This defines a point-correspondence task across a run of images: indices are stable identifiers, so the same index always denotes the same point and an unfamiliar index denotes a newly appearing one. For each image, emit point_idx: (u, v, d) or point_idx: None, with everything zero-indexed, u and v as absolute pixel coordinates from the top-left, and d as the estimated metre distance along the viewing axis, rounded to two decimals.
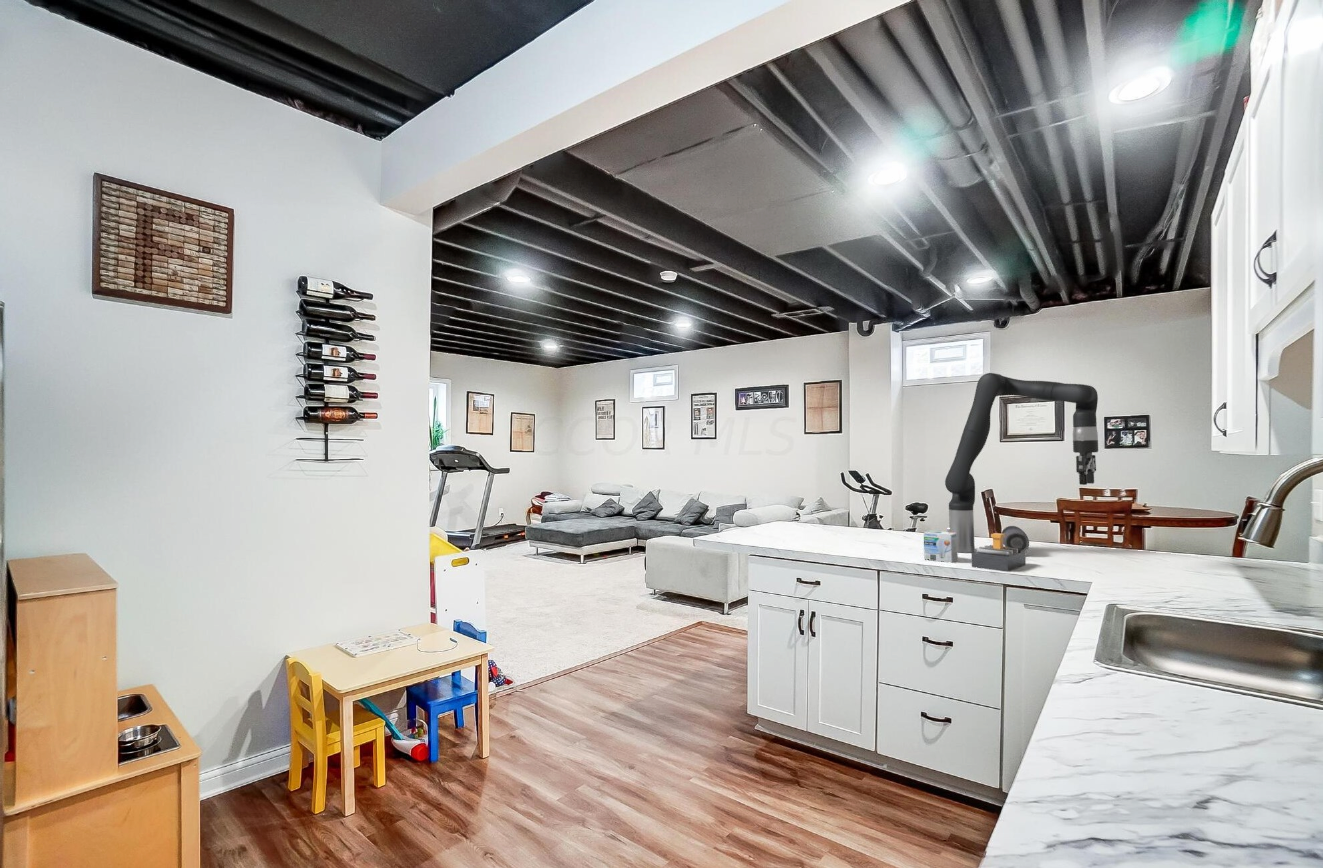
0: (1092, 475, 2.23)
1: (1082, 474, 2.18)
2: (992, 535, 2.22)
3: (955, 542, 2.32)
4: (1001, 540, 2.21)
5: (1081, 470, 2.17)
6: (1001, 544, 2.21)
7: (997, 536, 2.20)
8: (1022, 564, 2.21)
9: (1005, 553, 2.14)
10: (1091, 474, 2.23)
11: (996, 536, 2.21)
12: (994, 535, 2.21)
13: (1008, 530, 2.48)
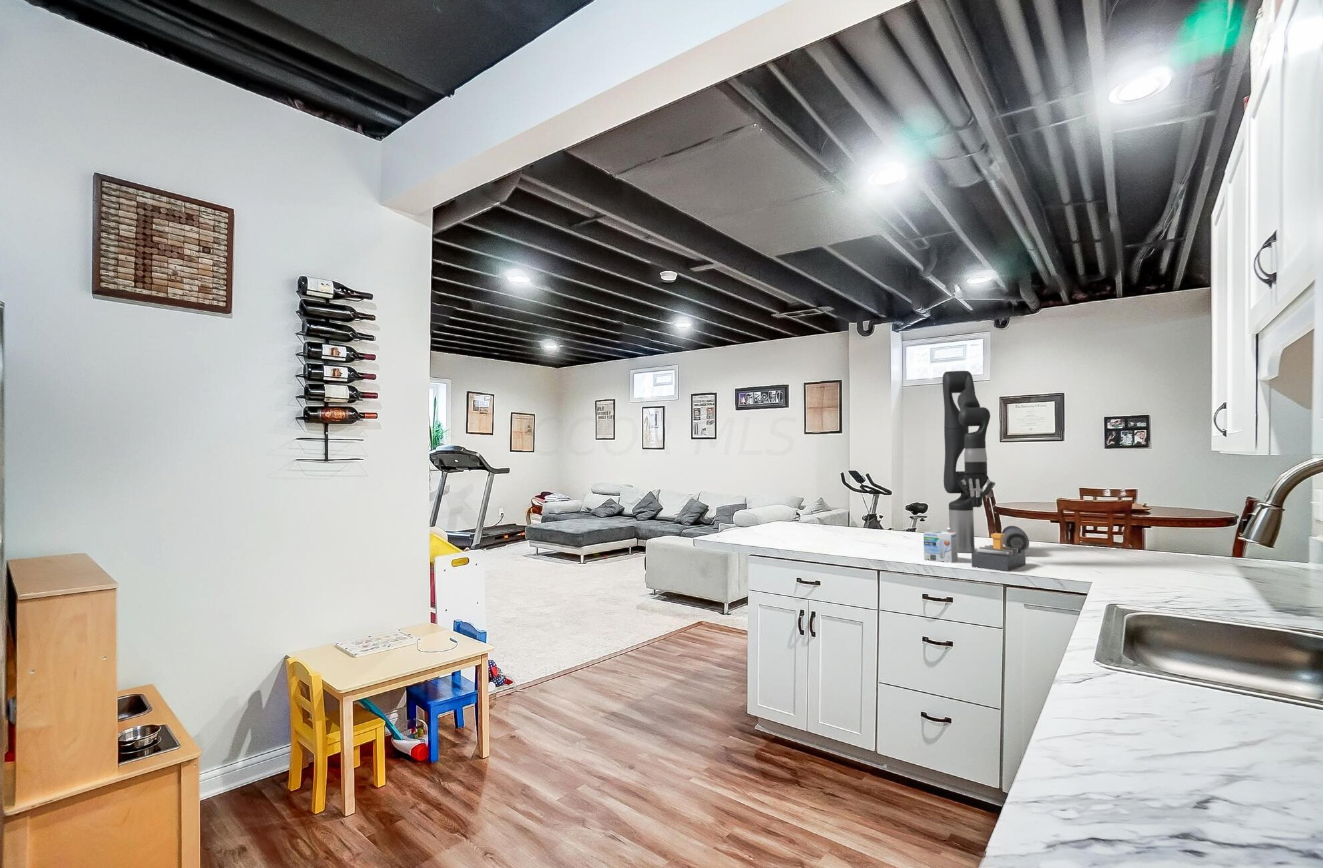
0: None
1: (981, 497, 2.27)
2: (992, 535, 2.22)
3: (955, 542, 2.32)
4: (1001, 540, 2.21)
5: None
6: (1001, 544, 2.21)
7: (997, 536, 2.20)
8: (1022, 564, 2.21)
9: (1005, 553, 2.14)
10: None
11: (996, 536, 2.21)
12: (994, 535, 2.21)
13: (1008, 530, 2.48)
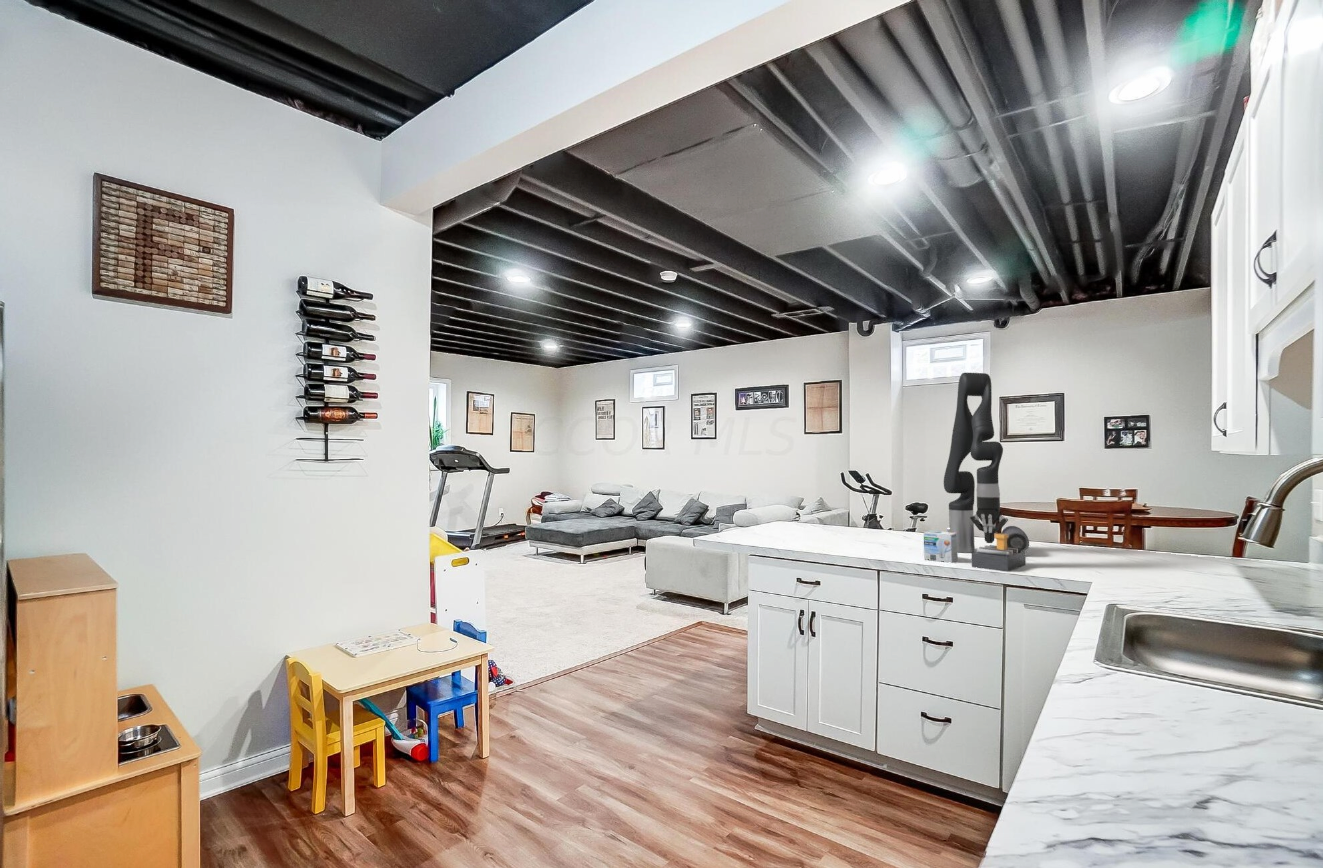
0: None
1: (993, 533, 2.23)
2: (996, 535, 2.21)
3: (955, 542, 2.32)
4: (1004, 541, 2.20)
5: None
6: (1005, 544, 2.20)
7: (1001, 536, 2.19)
8: (1022, 564, 2.21)
9: (1005, 553, 2.14)
10: None
11: (1000, 536, 2.20)
12: (998, 535, 2.20)
13: (1008, 530, 2.48)
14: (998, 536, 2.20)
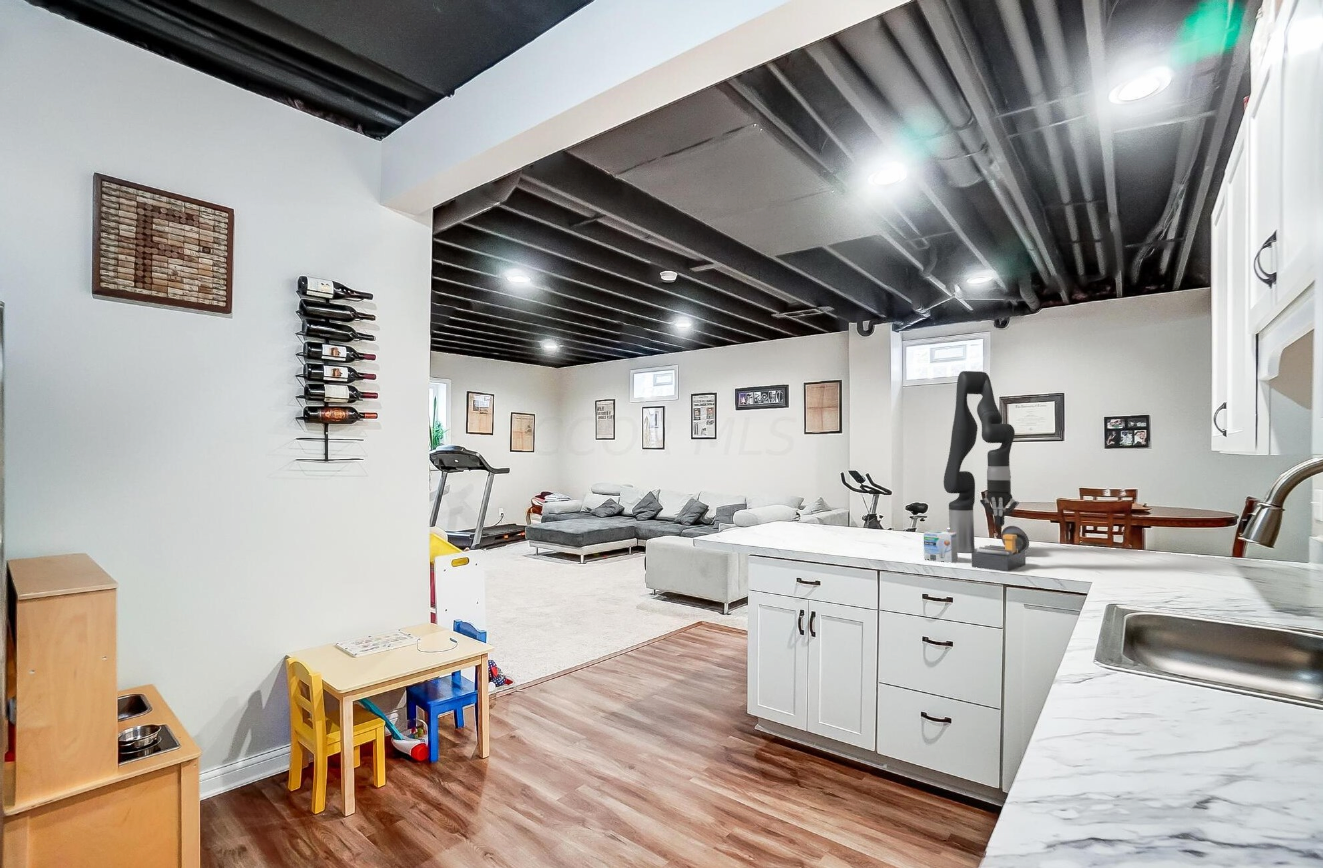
0: None
1: None
2: (1004, 536, 2.19)
3: (955, 542, 2.32)
4: (1013, 541, 2.18)
5: (1008, 512, 2.19)
6: (1013, 545, 2.18)
7: (1009, 537, 2.17)
8: (1022, 564, 2.21)
9: (1005, 553, 2.14)
10: None
11: (1008, 537, 2.18)
12: (1006, 536, 2.18)
13: (1008, 530, 2.48)
14: (1006, 537, 2.18)
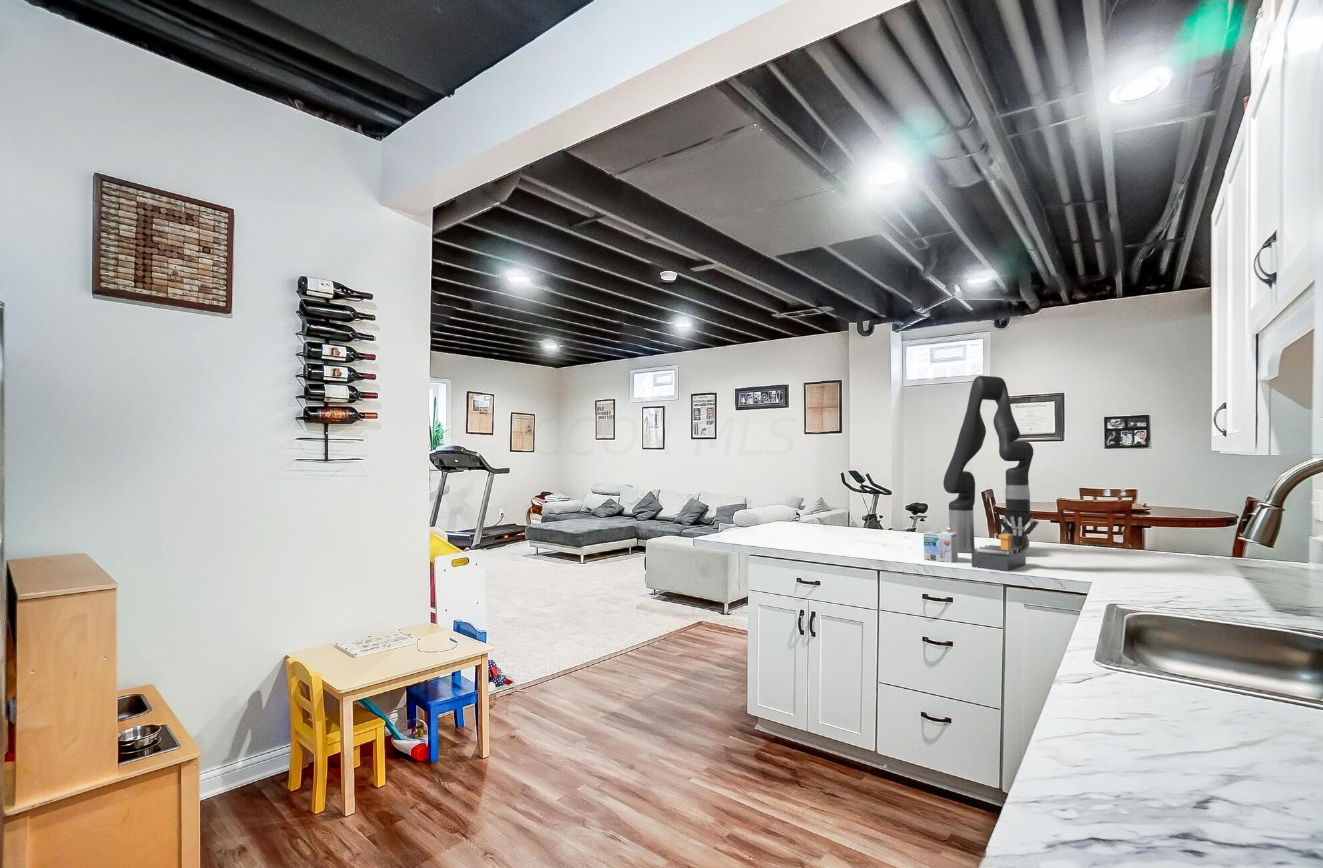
0: None
1: (1023, 536, 2.16)
2: (1000, 536, 2.20)
3: (955, 542, 2.32)
4: (1009, 541, 2.19)
5: None
6: (1009, 545, 2.19)
7: (1005, 537, 2.18)
8: (1022, 564, 2.21)
9: (1005, 553, 2.14)
10: None
11: (1004, 537, 2.19)
12: (1002, 536, 2.19)
13: None
14: (1002, 536, 2.19)
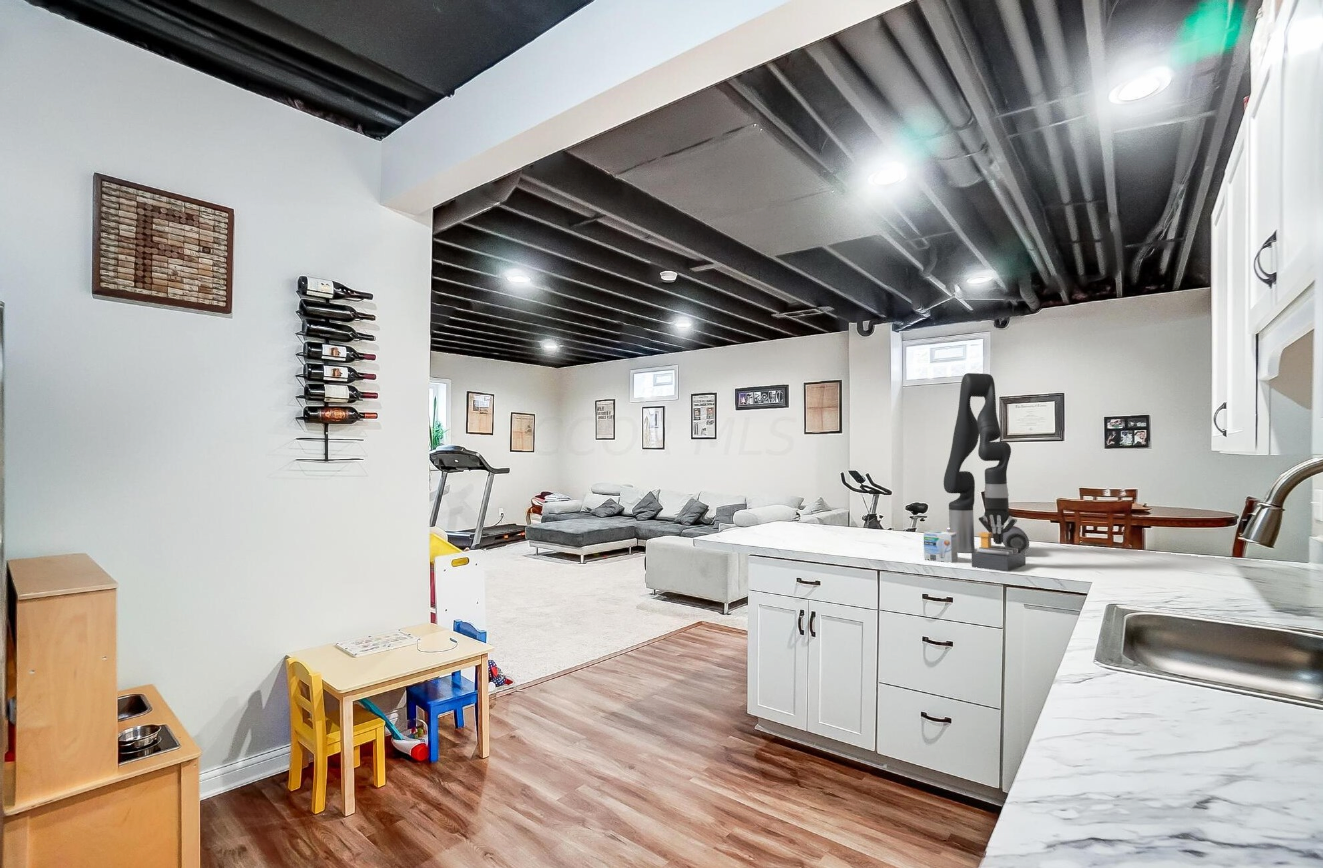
0: None
1: (1002, 534, 2.21)
2: (980, 534, 2.25)
3: (955, 542, 2.32)
4: (989, 539, 2.24)
5: None
6: (989, 543, 2.24)
7: (985, 535, 2.23)
8: (1022, 564, 2.21)
9: (1005, 553, 2.14)
10: None
11: (984, 535, 2.24)
12: (982, 534, 2.24)
13: None
14: (982, 535, 2.24)
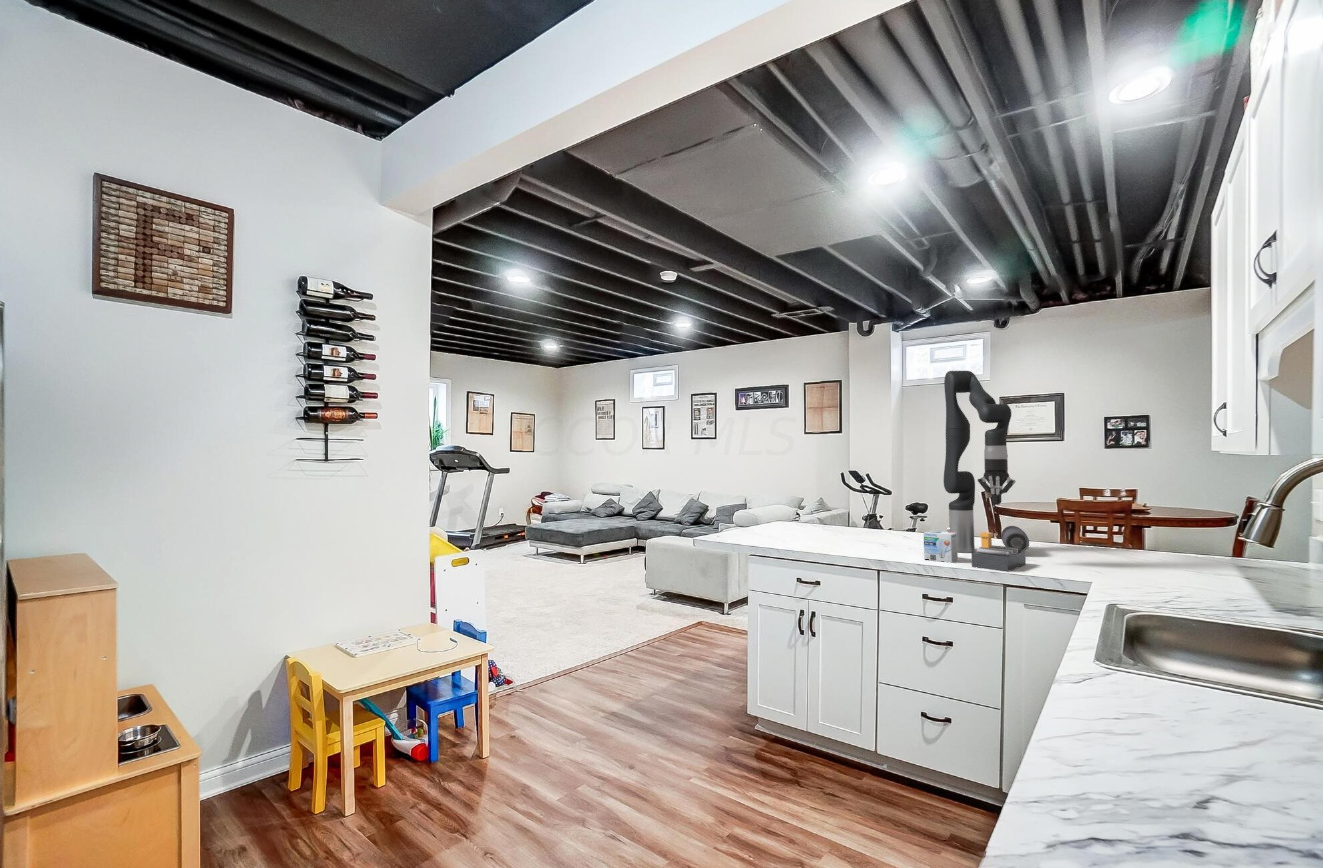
0: None
1: (1001, 494, 2.25)
2: (980, 534, 2.25)
3: (955, 542, 2.32)
4: (989, 539, 2.24)
5: None
6: (989, 543, 2.24)
7: (985, 535, 2.23)
8: (1022, 564, 2.21)
9: (1005, 553, 2.14)
10: None
11: (984, 535, 2.24)
12: (982, 534, 2.24)
13: (1008, 530, 2.48)
14: (983, 535, 2.24)
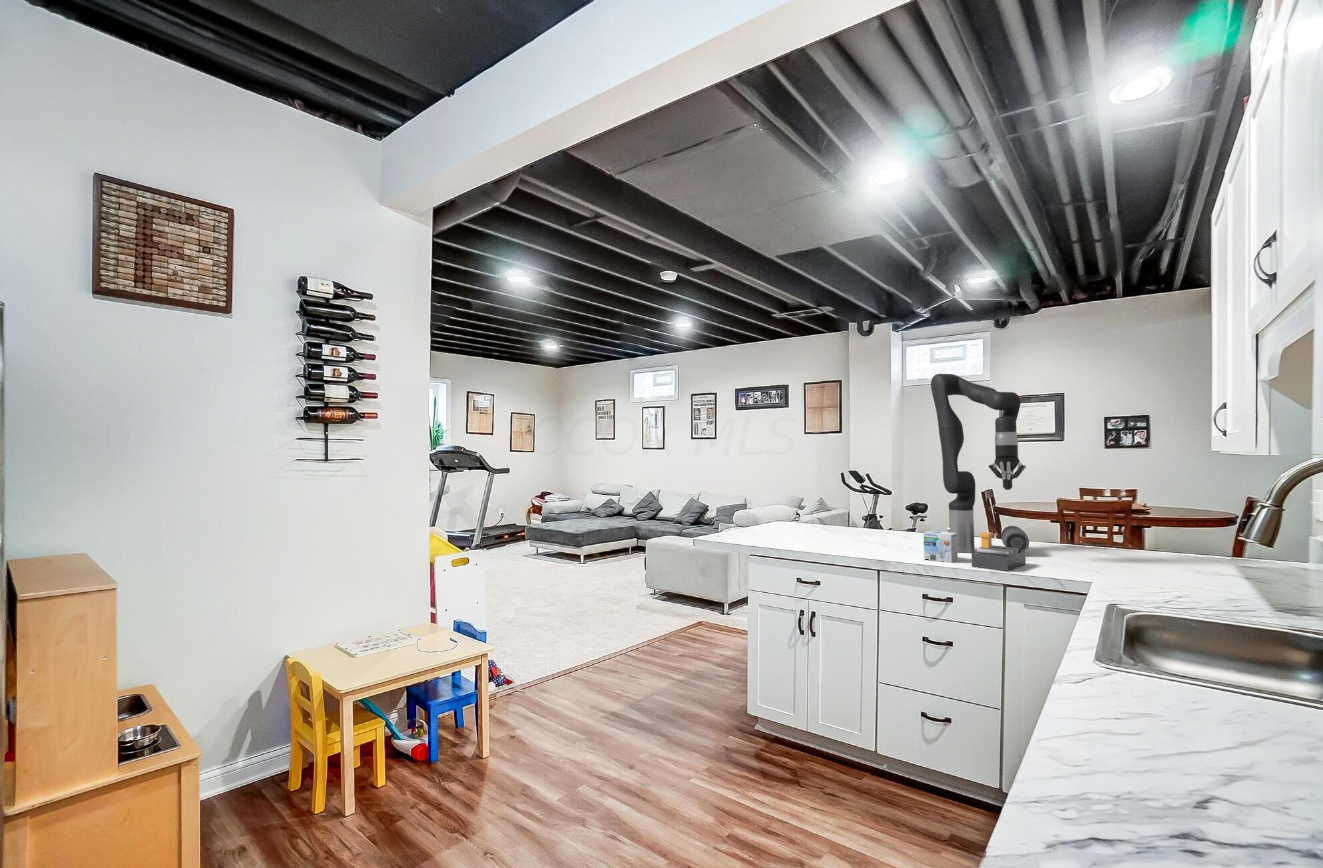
0: None
1: (1011, 479, 2.31)
2: (980, 534, 2.25)
3: (955, 542, 2.32)
4: (989, 539, 2.24)
5: None
6: (989, 543, 2.24)
7: (985, 535, 2.23)
8: (1022, 564, 2.21)
9: (1005, 553, 2.14)
10: None
11: (984, 535, 2.24)
12: (982, 534, 2.24)
13: (1008, 530, 2.48)
14: (983, 535, 2.24)
